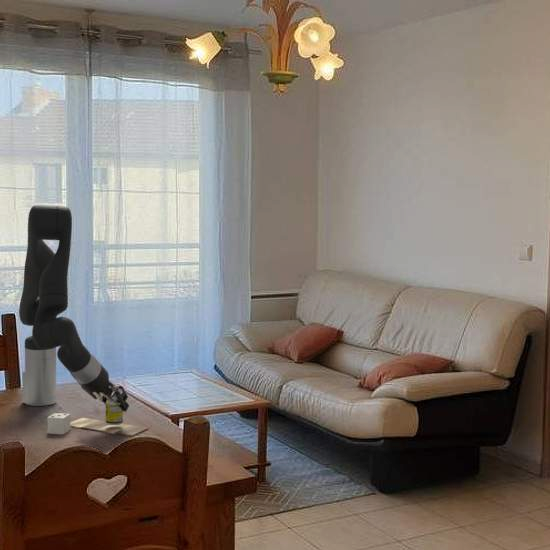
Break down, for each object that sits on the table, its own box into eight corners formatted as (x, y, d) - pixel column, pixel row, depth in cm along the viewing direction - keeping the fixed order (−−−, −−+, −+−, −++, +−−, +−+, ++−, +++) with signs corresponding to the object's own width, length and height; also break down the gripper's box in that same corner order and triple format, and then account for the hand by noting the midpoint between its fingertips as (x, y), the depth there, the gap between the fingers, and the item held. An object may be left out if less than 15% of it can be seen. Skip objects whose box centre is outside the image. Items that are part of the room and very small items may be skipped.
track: (64, 425, 225) (64, 424, 225) (82, 419, 232) (82, 417, 232) (131, 436, 216) (131, 435, 216) (148, 429, 223) (148, 427, 223)
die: (47, 433, 218) (47, 417, 217) (54, 429, 222) (54, 412, 222) (63, 434, 217) (63, 418, 217) (70, 430, 221) (70, 413, 221)
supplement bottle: (106, 420, 225) (106, 391, 224) (123, 421, 225) (124, 391, 225) (104, 425, 220) (104, 395, 219) (122, 425, 221) (122, 395, 220)
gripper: (115, 363, 211) (145, 399, 222) (75, 356, 219) (106, 392, 230) (100, 387, 207) (132, 423, 218) (60, 379, 215) (93, 414, 226)
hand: (119, 407), depth 224 cm, fingers closed on supplement bottle, 4 cm apart
